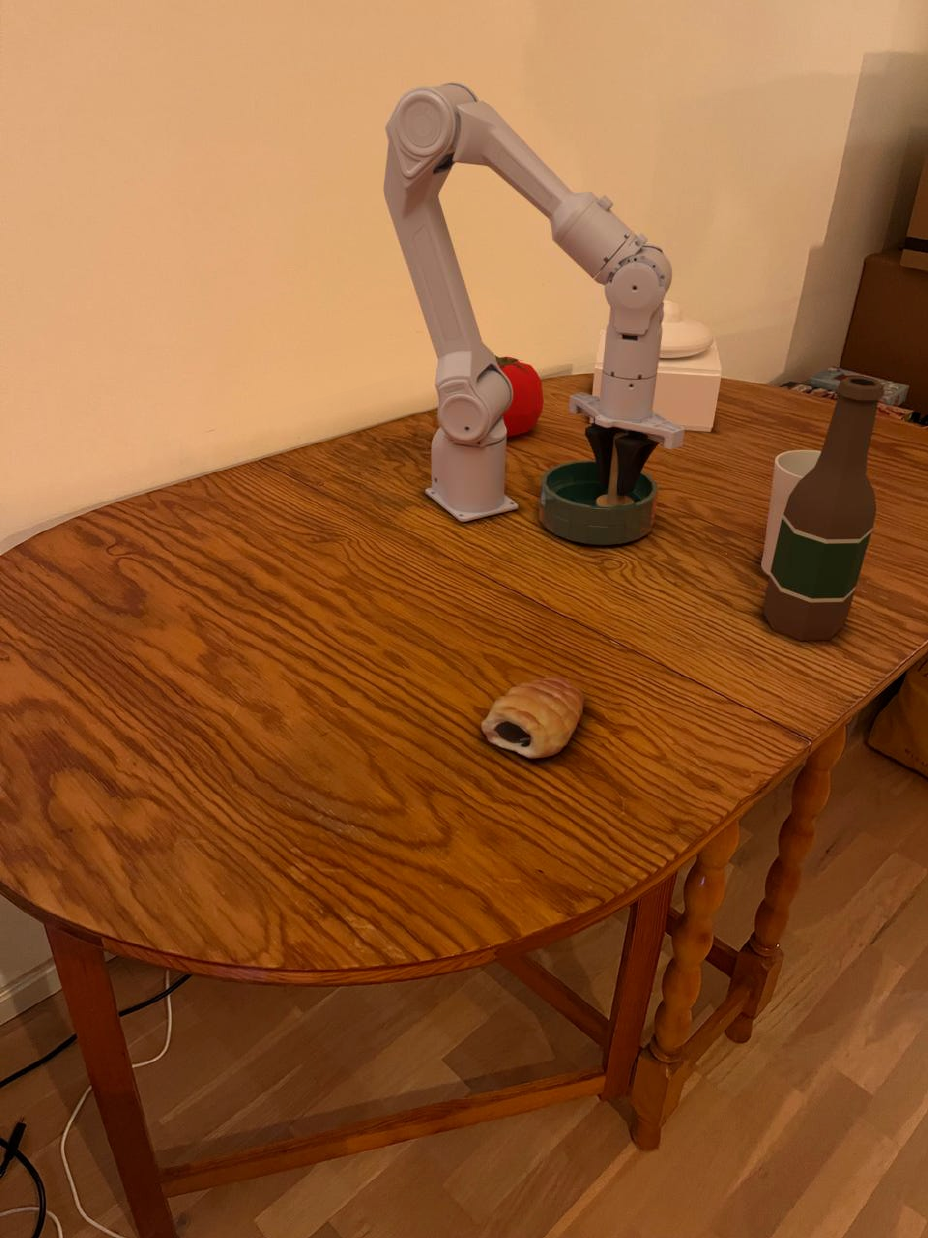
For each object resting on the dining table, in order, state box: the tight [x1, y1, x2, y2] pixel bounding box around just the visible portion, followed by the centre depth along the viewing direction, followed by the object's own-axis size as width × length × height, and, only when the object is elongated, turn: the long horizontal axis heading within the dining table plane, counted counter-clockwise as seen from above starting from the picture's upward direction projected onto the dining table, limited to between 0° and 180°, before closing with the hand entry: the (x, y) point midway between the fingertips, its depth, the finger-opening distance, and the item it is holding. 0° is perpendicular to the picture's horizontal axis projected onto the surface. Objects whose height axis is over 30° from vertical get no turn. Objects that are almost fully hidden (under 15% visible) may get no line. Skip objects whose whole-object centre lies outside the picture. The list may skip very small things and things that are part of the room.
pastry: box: [480, 675, 585, 759], centre depth 74 cm, size 9×7×4 cm
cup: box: [760, 449, 822, 577], centre depth 95 cm, size 8×8×12 cm
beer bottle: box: [762, 375, 885, 642], centre depth 83 cm, size 8×8×24 cm
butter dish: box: [589, 300, 723, 433], centre depth 136 cm, size 18×18×16 cm
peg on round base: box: [596, 433, 635, 507], centre depth 103 cm, size 4×4×9 cm
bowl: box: [538, 459, 659, 546], centre depth 105 cm, size 13×13×5 cm
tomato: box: [495, 355, 545, 438], centre depth 128 cm, size 13×12×11 cm
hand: (616, 489), depth 104 cm, fingers closed on peg on round base, 2 cm apart
